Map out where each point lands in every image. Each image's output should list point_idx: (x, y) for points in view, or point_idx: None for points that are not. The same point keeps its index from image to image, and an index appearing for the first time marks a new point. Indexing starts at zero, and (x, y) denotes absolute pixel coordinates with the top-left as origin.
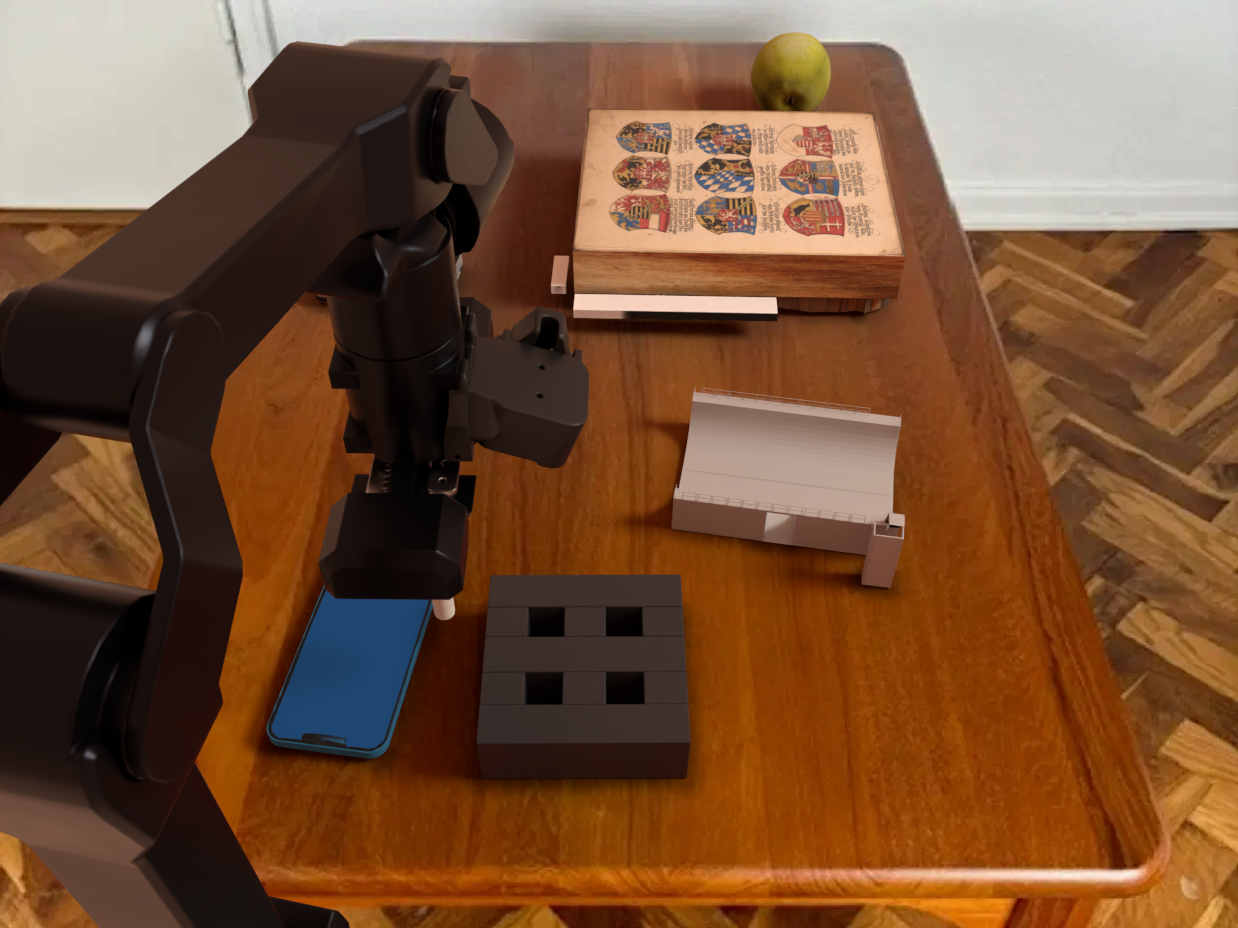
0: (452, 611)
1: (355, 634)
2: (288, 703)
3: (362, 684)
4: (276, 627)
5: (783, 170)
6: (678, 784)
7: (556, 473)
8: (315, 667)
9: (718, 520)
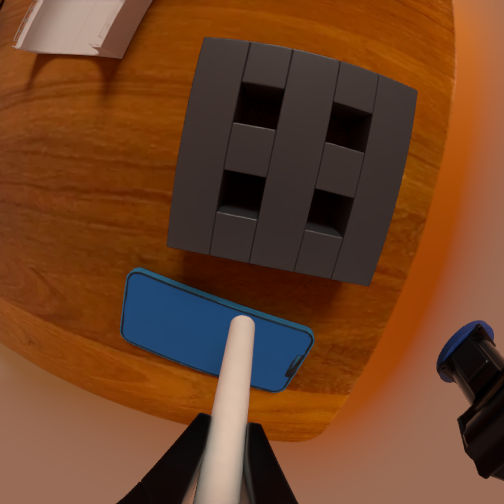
0: (249, 322)
1: (201, 342)
2: (256, 382)
3: None
4: (184, 375)
5: None
6: None
7: (53, 159)
8: None
9: (131, 15)
